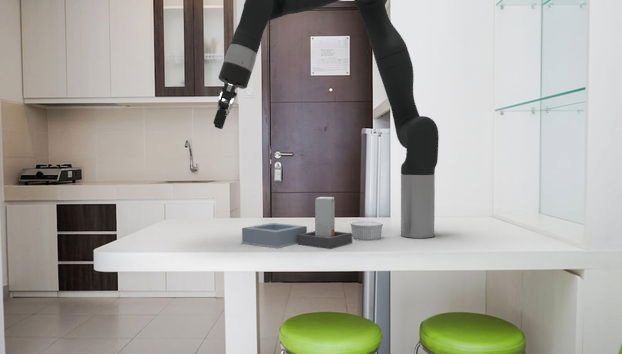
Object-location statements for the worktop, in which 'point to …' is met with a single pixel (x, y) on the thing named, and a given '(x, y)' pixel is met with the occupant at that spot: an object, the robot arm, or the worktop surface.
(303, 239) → the dark grey square tray
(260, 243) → the blue-grey square tray
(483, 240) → the worktop surface
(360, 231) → the ramekin
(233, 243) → the worktop surface
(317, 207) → the skincare box
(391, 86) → the robot arm
